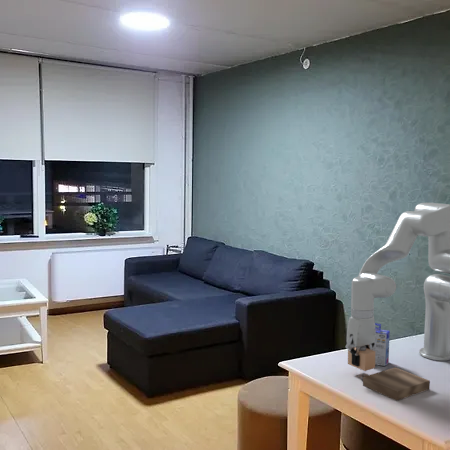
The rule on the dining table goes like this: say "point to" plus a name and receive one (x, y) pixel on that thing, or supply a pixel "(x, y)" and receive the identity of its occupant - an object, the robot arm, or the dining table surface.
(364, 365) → the block
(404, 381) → the wooden square tile
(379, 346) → the ink cartridge box
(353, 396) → the dining table surface
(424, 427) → the dining table surface
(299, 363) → the dining table surface
